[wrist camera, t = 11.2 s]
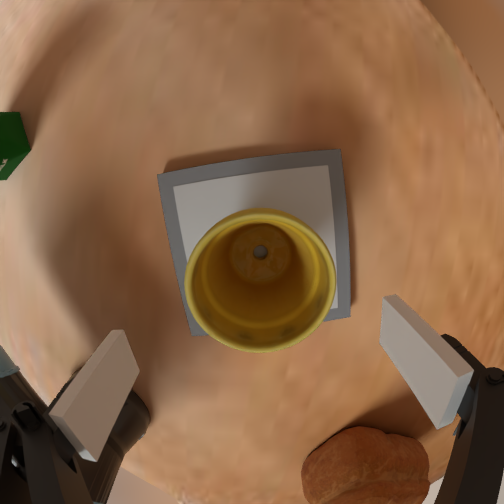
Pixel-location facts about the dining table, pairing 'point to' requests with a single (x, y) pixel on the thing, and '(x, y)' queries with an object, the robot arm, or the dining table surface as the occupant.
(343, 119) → the dining table surface
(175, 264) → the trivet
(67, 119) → the dining table surface
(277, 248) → the plant pot
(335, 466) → the bread
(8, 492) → the robot arm
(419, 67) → the dining table surface
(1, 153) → the milk carton
